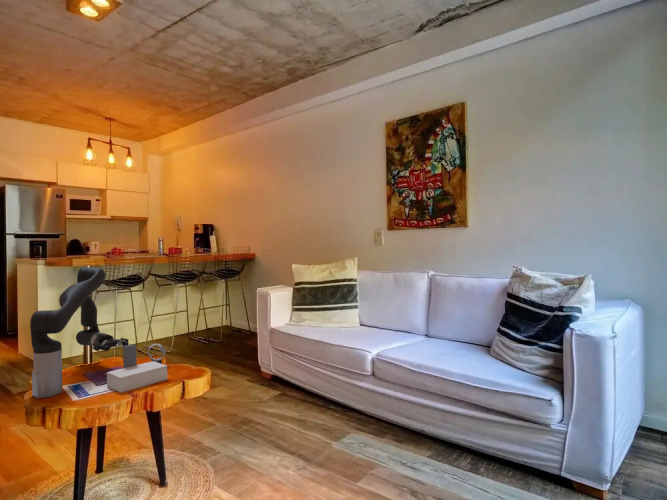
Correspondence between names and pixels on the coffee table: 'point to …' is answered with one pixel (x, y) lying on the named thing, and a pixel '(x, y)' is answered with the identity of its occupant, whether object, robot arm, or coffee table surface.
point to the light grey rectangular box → (136, 376)
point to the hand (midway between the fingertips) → (117, 346)
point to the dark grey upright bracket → (129, 356)
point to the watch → (160, 350)
